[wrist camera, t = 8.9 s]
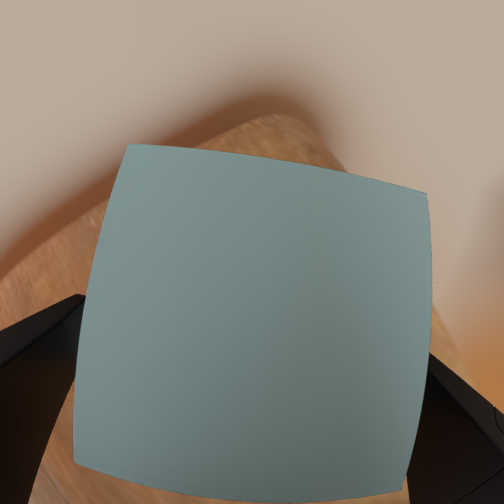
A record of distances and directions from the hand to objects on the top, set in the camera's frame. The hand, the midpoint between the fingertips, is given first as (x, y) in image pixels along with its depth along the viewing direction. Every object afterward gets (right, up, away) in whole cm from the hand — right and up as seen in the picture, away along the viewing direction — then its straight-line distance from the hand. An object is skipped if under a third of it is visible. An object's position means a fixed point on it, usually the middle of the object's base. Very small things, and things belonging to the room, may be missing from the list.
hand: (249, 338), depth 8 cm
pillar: (-1, -2, +10) cm, 10 cm away
